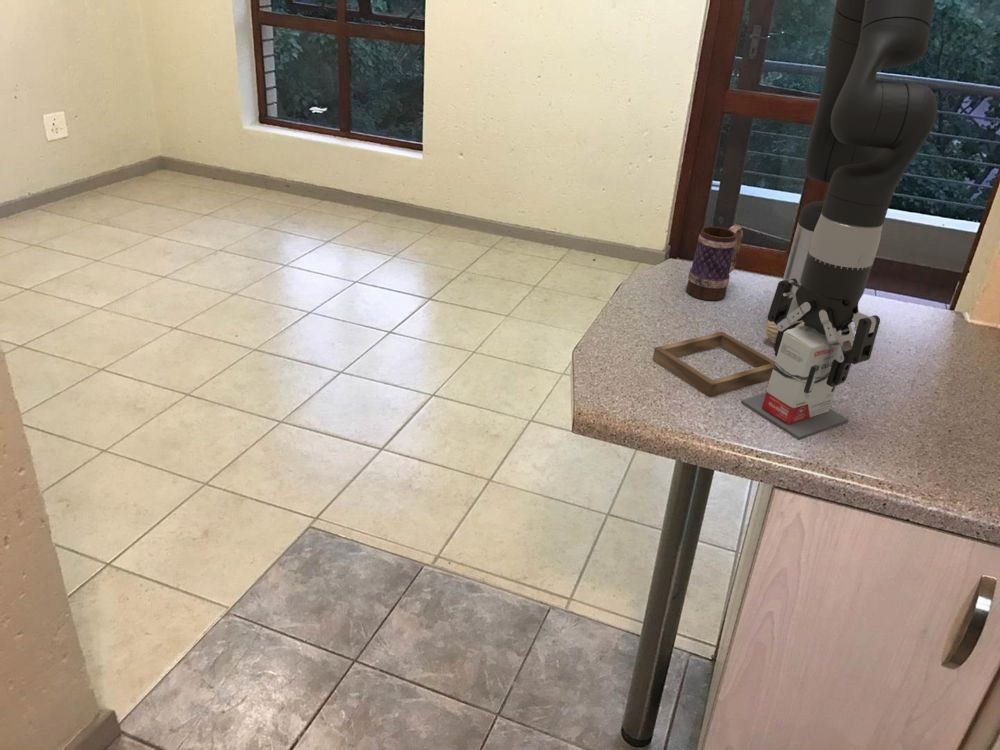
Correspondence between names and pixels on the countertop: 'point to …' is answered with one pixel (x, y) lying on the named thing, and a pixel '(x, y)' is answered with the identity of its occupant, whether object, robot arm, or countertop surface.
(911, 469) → the countertop surface
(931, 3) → the robot arm
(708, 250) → the mug
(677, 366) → the square wooden frame
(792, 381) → the ink box
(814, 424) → the mat
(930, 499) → the countertop surface
